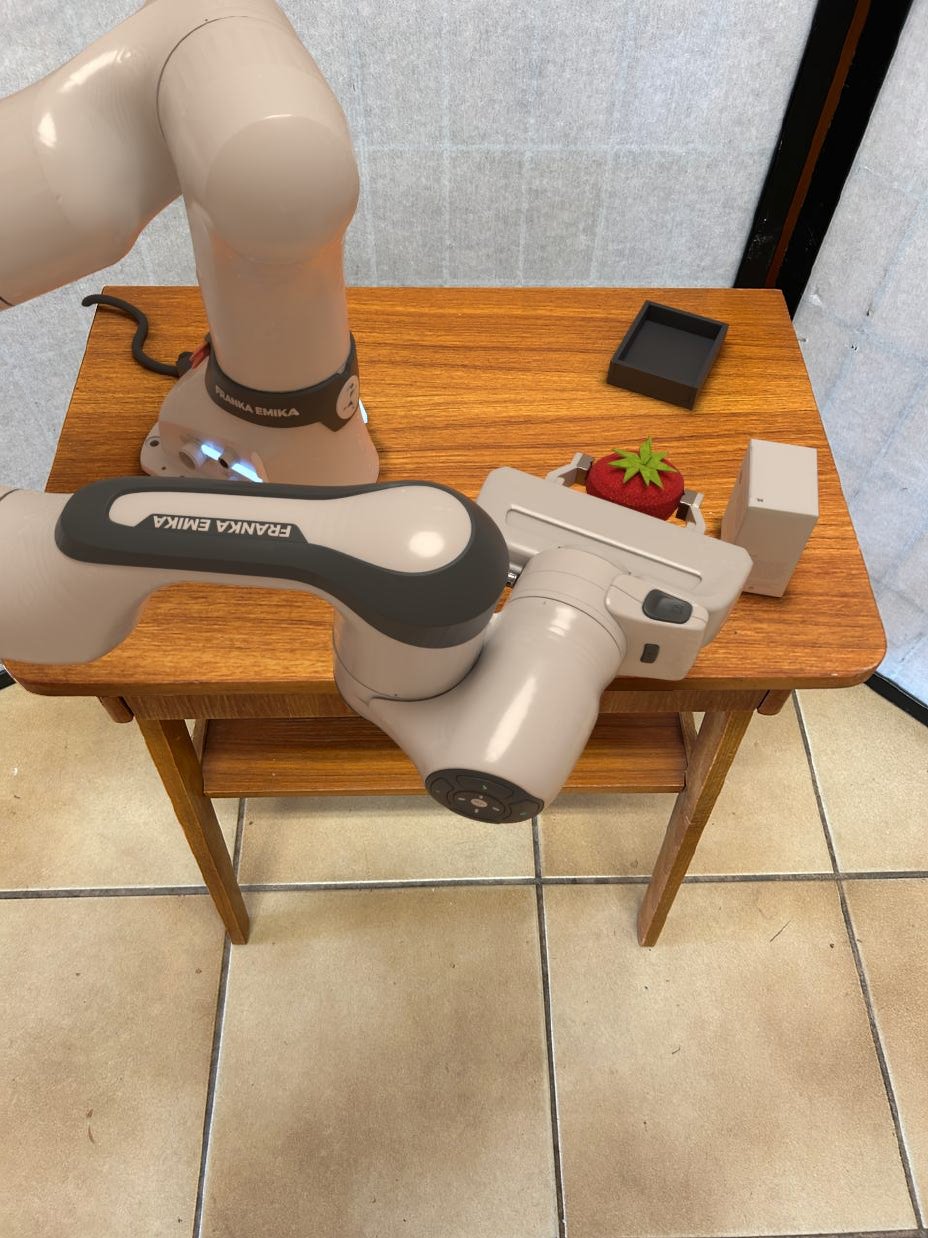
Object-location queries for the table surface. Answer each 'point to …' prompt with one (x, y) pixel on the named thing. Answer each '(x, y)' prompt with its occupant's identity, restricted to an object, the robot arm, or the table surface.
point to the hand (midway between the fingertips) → (639, 478)
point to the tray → (667, 354)
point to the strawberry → (638, 481)
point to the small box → (773, 511)
